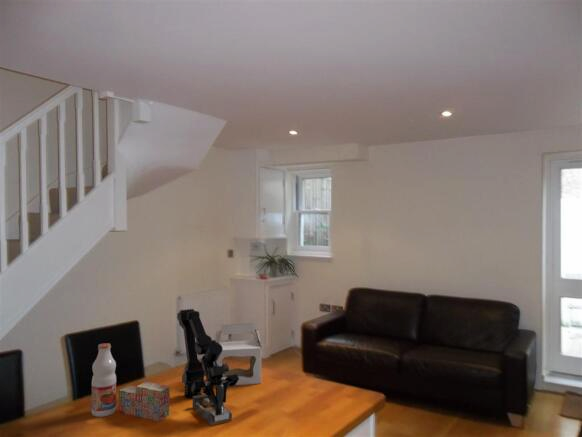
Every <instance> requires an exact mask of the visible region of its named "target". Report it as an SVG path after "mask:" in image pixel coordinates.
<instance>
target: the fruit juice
mask: <svg viewBox="0 0 582 437" xmlns="http://www.w3.org/2000/svg"><path fill="white" fill-rule="evenodd" d="M111 348H112V346H111V343H110V342H108V343H107V342H106V343H100V344H98V346H97V350H98V354H97V356H96V358H95V360H94V362H93V363H92V366H91V367H92V368H91V369H92V370H91V371H92V373H93V374H92V377H91V378H92V379H91V408H90V409H91V410H90V411H91V414H92V416H93V417H96V418H97V417H98V418H102V417H107V416H108V417H109V416H111V415H113V414H114V413H115V412H116V409H117V375H116V367H117V362H116V360H115V359H114V357H113V355H112V352H111Z"/></svg>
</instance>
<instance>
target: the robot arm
mask: <svg viewBox="0 0 582 437" xmlns="http://www.w3.org/2000/svg"><path fill="white" fill-rule="evenodd" d="M176 315H177V316H176V318H177V320H178V323H179V326H180V327H181V328H182V329H183V337H184V344H185V354H186V364H185V366H184V371H183V374H182V376H181V382H182V384H184V394H183V395H182V397H183V398H188V399H192V400H193V396H198V395H203V394H206V395H207V396H208V397H209V398H210V399H211V400H212V401H213V402H214V403H215V404H216V405H217V399H216V392H215V391H214V386H215V387H216V384H217V383H223V384H224V404H226V403H227V390H228V389H229V388H230V387H236V386H237V385H236V383H237V382H238V380H239V377H238V375H237V374H231V375H228V376H227V378H226V379H221V378H222V377H223V374H225V372H228V371H229V370H230V368H229V365H228V363H227V362H225V363H223V364H222V366H219V365H217V362H216V360H218V358H219V356H220V354H221V352H222V346H221V345H220V344H219V343H217V342H216V341H215V340H216V339H212V338H211V336H210V335H208V334H207V332H206V330H205V328H204V325H203V322H202V320H201V317H200V312H199V310H195V309H194V308H190V309H189V308H188V309H180V310H179V312H177V314H176ZM198 356H202V357H201V359H200V360H199V357H198ZM205 378H206V379H205ZM204 379H205V380H206V381H205V380H204Z"/></svg>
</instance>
